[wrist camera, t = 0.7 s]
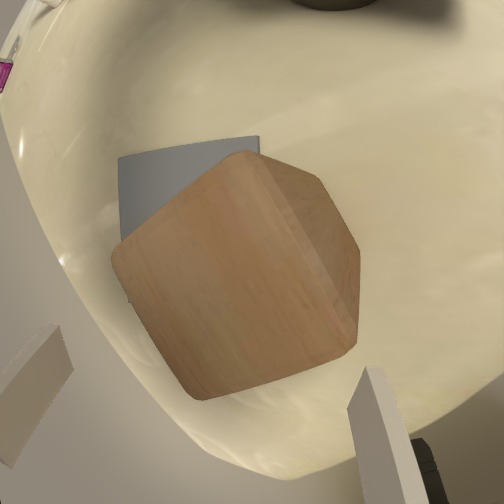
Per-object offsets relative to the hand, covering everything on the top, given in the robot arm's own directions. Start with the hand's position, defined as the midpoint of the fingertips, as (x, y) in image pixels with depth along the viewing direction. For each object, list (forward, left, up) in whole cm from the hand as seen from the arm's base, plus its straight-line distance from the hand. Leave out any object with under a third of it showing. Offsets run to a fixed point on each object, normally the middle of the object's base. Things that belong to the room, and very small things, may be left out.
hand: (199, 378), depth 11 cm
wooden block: (-2, -2, -22) cm, 23 cm away
